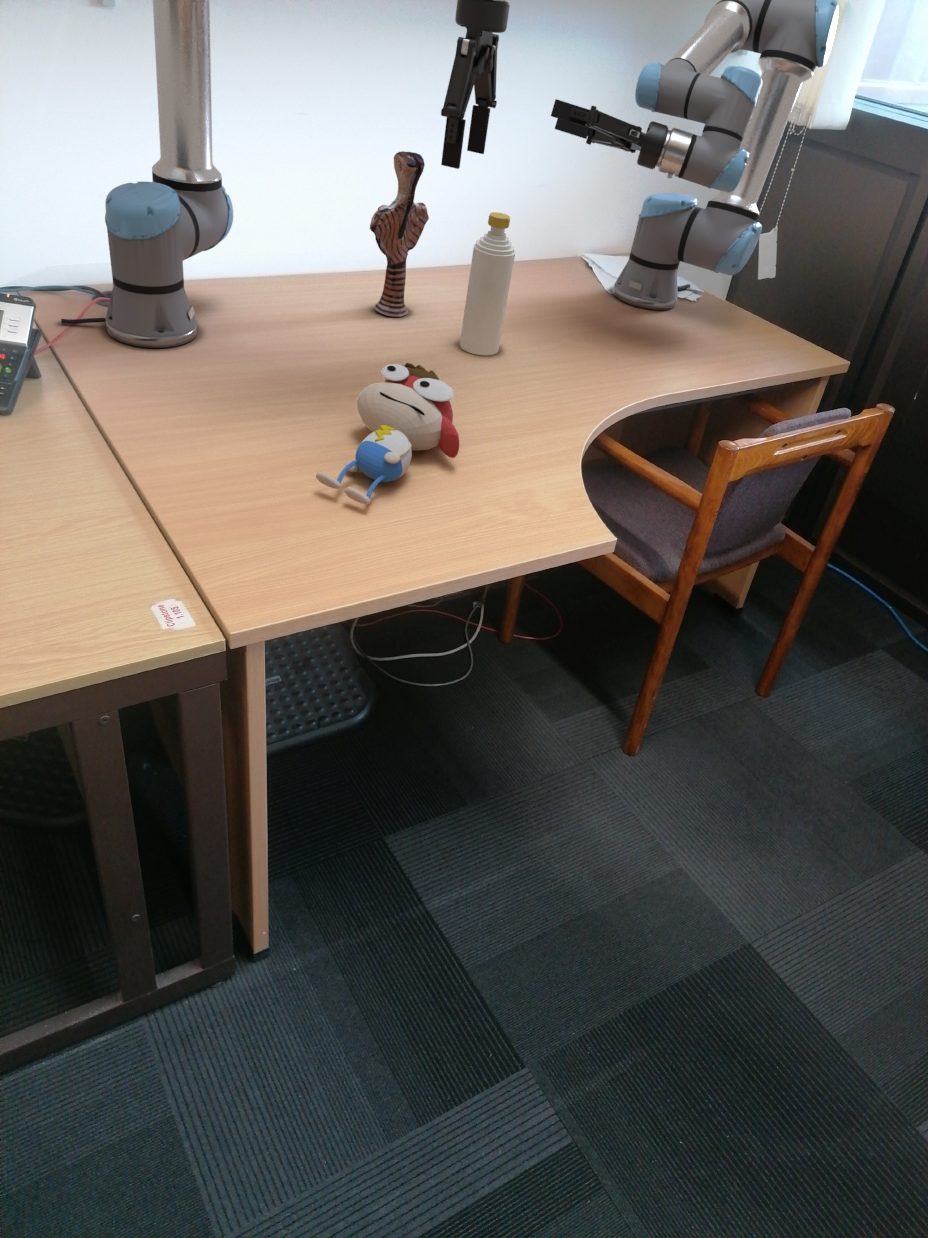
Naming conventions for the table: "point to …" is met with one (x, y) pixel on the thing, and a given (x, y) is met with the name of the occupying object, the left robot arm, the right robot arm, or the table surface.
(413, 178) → the figurine
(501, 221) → the cap
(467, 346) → the bottle
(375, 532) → the table surface
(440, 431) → the toy
